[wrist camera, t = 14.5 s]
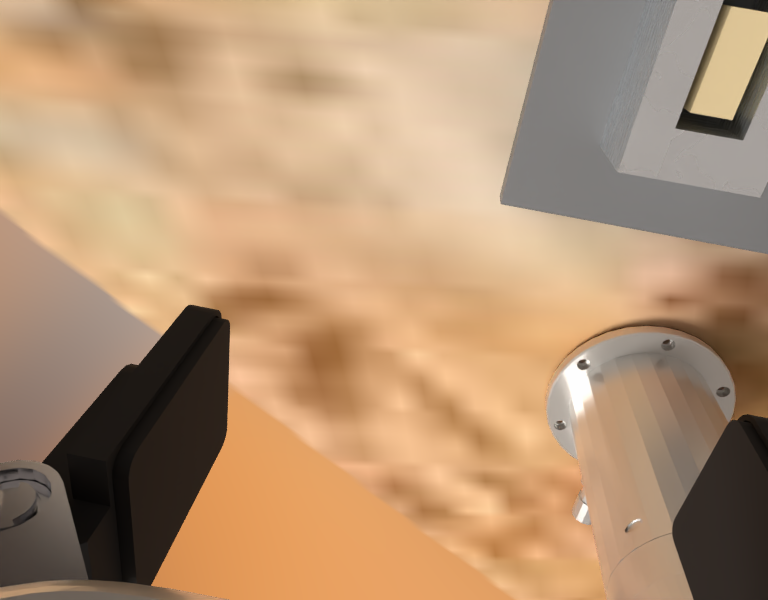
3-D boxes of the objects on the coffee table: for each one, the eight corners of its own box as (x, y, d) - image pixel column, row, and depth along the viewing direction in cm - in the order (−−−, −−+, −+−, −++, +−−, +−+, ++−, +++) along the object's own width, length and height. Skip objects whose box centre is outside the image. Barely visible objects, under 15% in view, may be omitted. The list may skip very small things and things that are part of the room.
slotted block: (724, 167, 35) (760, 197, 30) (599, 145, 35) (617, 172, 30) (821, -58, 29) (882, -61, 25) (672, -82, 29) (707, -89, 25)
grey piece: (757, 243, 38) (802, 289, 33) (499, 195, 39) (503, 232, 33) (955, -155, 28) (1065, -180, 23) (604, -211, 29) (633, -249, 23)
